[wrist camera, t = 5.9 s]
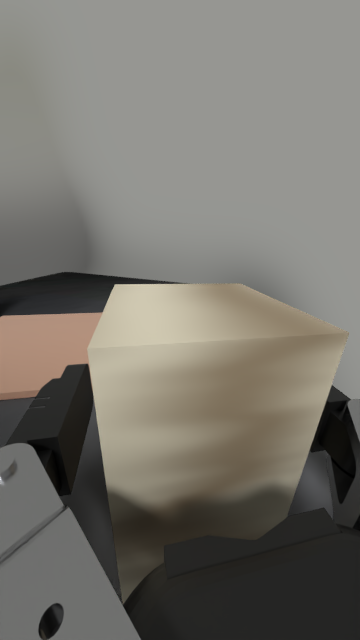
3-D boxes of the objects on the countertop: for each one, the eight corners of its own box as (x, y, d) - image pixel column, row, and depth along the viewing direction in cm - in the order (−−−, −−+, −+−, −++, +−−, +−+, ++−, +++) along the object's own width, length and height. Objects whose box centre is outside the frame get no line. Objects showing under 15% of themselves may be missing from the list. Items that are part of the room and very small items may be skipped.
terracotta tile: (-147, 414, 15) (-152, 407, 14) (3, 319, 31) (2, 315, 31) (127, 387, 18) (126, 381, 18) (131, 315, 34) (131, 311, 34)
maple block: (123, 611, 7) (87, 348, 4) (128, 459, 12) (114, 284, 9) (268, 570, 8) (349, 332, 5) (218, 445, 13) (239, 283, 10)
